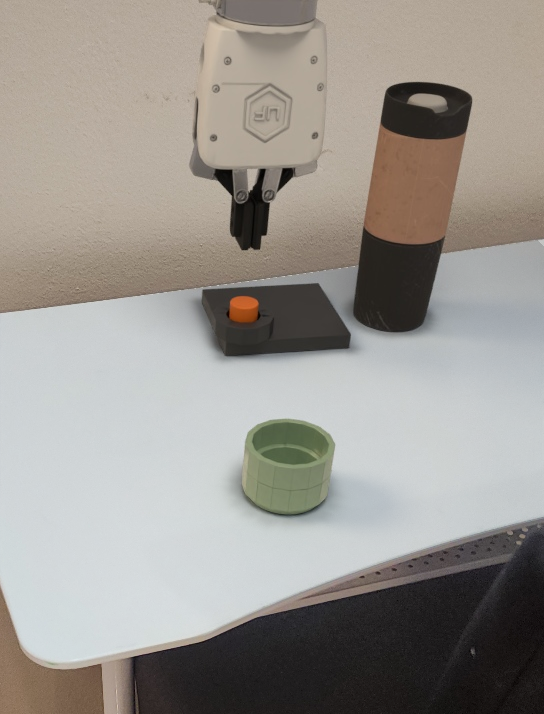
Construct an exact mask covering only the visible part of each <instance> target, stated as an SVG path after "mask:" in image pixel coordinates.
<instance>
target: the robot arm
mask: <svg viewBox="0 0 544 714" xmlns="http://www.w3.org/2000/svg"><path fill="white" fill-rule="evenodd" d="M318 2H319V1H318V0H198V3H199V4H208V5H209V6H213V8H214V10H215V11H216V12H215V14H212V15H210V16H208V18H207V21H206V25H205V29H204V34H203V37H202V44H201V49H200V54H199V60H198V68H197V75H196V81H195V82H196V83H195V91H194V99H193V109H192V125H191V129H192V130H191V132H192V133H191V134H192V143H193V148H192V152H191V156H190V159H189V163H188V168H189V170H190V172H191V174H192V175H193V176H195V177H197V178H202V179H206V180H210V181H216V182H218V183H219V184H220V185H221V186H222V187H223V188H224V189H225V190H226V191H227V192H228V193H229V195H230V196H231V200H230V217H229V233H230V236H231V238H234V239H235V241H236V242H237V244H238V247H239V248H240V250H241V251H249V249H252V250H253V251H259V250H261V247H262V237H266V236H267V235H268V230H269V229H268V228H269V219H270V218H269V217H270V207H271V203H272V202H274V201H275V199H276V197H277V194H278V193H279V192H280V191H281V190H282V188H284V187H285V186H286V184H288V183H289V182H290V181H291V180H292V179H293V178H299V177H302V176H303V177H304V176H306V175H309V174H313V173H315V172H316V171H317V169H318V160H319V158H320V157H321V154H322V152H323V151H322V150H323V145H324V137H325V129H326V128H325V127H326V111H327V91H328V88H327V86H328V39H327V36H328V35H327V27H326V26H327V25H326V23H324V22H323V21H322V20H320V19H318V18H316V17H317V9H318ZM248 170H257V171H256V175H255V179H254V185H253V186H252V188H251V189H249V184H248V183H249V179H248V178H249V177H248Z"/></svg>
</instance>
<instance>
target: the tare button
mask: <svg viewBox="0 0 544 714" xmlns="http://www.w3.org/2000/svg"><path fill="white" fill-rule="evenodd" d="M258 305H259V303H258V301H257V300H256V299H254V298H252V297H248V296H238V297H235V298H233V299H232V300H231V301H230V313H229V318H230V319H231V320H233V321H236V322H241V323H247V322H254V321H256V320H257V317H258Z"/></svg>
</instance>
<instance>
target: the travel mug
mask: <svg viewBox="0 0 544 714" xmlns="http://www.w3.org/2000/svg"><path fill="white" fill-rule="evenodd" d="M384 92H385V93H384V97H383V101H382V110H381V115H380V122H379V127H378V133H377V140H376V145H375V151H374V159H373V164H372V170H371V176H370V182H369V189H368V194H367V201H366V207H365V213H364V219H363V225H362V226H363V227H362V234H361V242H360V249H359V258H358V265H357V266H358V267H357V274H356V275H357V277H356V282H355V291H354V299H353V300H354V301H353V308H352V310H353V316H354V317H355V319H356V320H357V321H358V322H359V323H361V324H363V325H364V326H366V327H369V328H371V329H375V330H379V331H383V332H393V333H394V332H395V333H396V332H397V333H398V332H408V331H413V330H415V329H417V328H419V327H420V326H422V325H423V323H424V322H425V319H426V316H427V312H428V308H429V304H430V301H431V296H432V294H433V288H434V284H435V280H436V275H437V272H438V268H439V264H440V261H441V255H442V252H443V247H444V243H445V239H446V234H447V230H448V226H449V222H450V221H449V220H450V215H451V210H452V206H453V201H454V196H455V190H456V187H457V186H456V185H457V180H458V176H459V171H460V166H461V161H462V155H463V152H464V146H465V141H466V137H467V131H468V127H469V123H470V117H471V112H472V106H473V96H472V95H471V94H470V93H469V92H468V91H466V90H464V89H462V88H459V87H456V86H453V85H449V84H445V83H438V82H430V81H406V82H405V81H404V82H399V83H395V84H393V85H390V86H389V87H387V88H386V90H385V91H384Z"/></svg>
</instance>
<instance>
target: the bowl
mask: <svg viewBox="0 0 544 714" xmlns="http://www.w3.org/2000/svg"><path fill="white" fill-rule="evenodd" d="M335 450H336V442H335V440H334V438H333V437H332V435H331V434H330V433H329V432H328V431H326V430H325V429H324V428H322V427H321V426H319V425H316V424H314V423H312V422H309V421H306V420H301V419H293V418H275V419H269V420H266V421H263V422H260V423H257V424H256V425H254V426H253V427H252V428H251V429H250V430H248V431H247V434H246V437H245V440H244V450H243V465H242V473H241V486H242V489H243V492H244V495H246V497H248V499H250V501H252V502H253V504H254V505H255V506H257V507H259V508H260V509H262V510H264V511H267V512H270V513H273V514H279V515H298V514H299V515H300V514H304V513H306V512H309V511H311V510H313V509H314V508H316V507H317V506H319V505H320V504H321V503H322V502H323V501H324V500H325V499H326V498H327V497H328V493H329V488H330V482H331V476H332V470H333V462H334V456H335Z"/></svg>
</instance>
